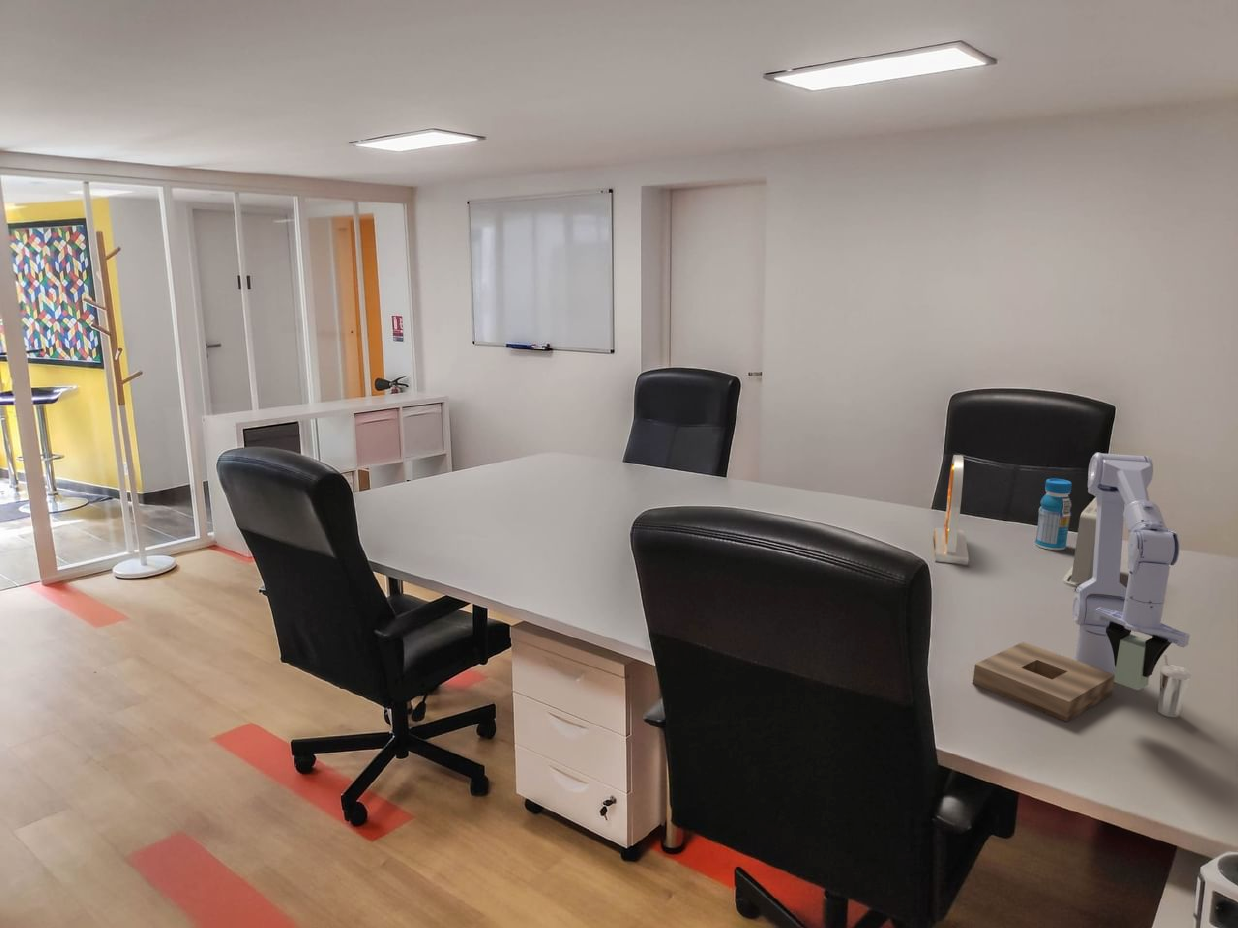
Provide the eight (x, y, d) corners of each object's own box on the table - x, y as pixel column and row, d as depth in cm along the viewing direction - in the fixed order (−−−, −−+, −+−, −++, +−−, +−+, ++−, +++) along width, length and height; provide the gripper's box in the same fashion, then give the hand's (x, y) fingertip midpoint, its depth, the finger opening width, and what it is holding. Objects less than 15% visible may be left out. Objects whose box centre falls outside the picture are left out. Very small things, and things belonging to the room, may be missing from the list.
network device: (1096, 595, 213) (1107, 518, 209) (1057, 587, 218) (1068, 512, 214) (1111, 569, 233) (1122, 498, 229) (1076, 562, 238) (1086, 493, 234)
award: (932, 533, 262) (941, 445, 256) (963, 537, 260) (973, 448, 254) (933, 561, 237) (943, 464, 231) (967, 565, 234) (978, 467, 228)
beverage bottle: (1036, 549, 249) (1045, 482, 245) (1032, 541, 257) (1040, 476, 252) (1068, 552, 247) (1078, 485, 242) (1063, 544, 254) (1072, 479, 250)
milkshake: (1168, 704, 158) (1177, 655, 156) (1188, 719, 153) (1198, 668, 151) (1145, 704, 158) (1153, 655, 156) (1164, 719, 153) (1173, 668, 151)
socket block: (1020, 659, 176) (1023, 641, 175) (1112, 694, 162) (1115, 674, 161) (972, 683, 165) (974, 664, 165) (1066, 722, 151) (1069, 701, 151)
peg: (1123, 675, 153) (1130, 634, 151) (1148, 684, 150) (1155, 642, 148) (1113, 681, 151) (1120, 639, 149) (1138, 690, 148) (1145, 647, 146)
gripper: (1090, 589, 150) (1080, 660, 153) (1182, 616, 139) (1168, 692, 142) (1108, 581, 154) (1098, 651, 157) (1199, 606, 143) (1186, 681, 146)
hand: (1132, 670), depth 150 cm, fingers closed on peg, 4 cm apart
